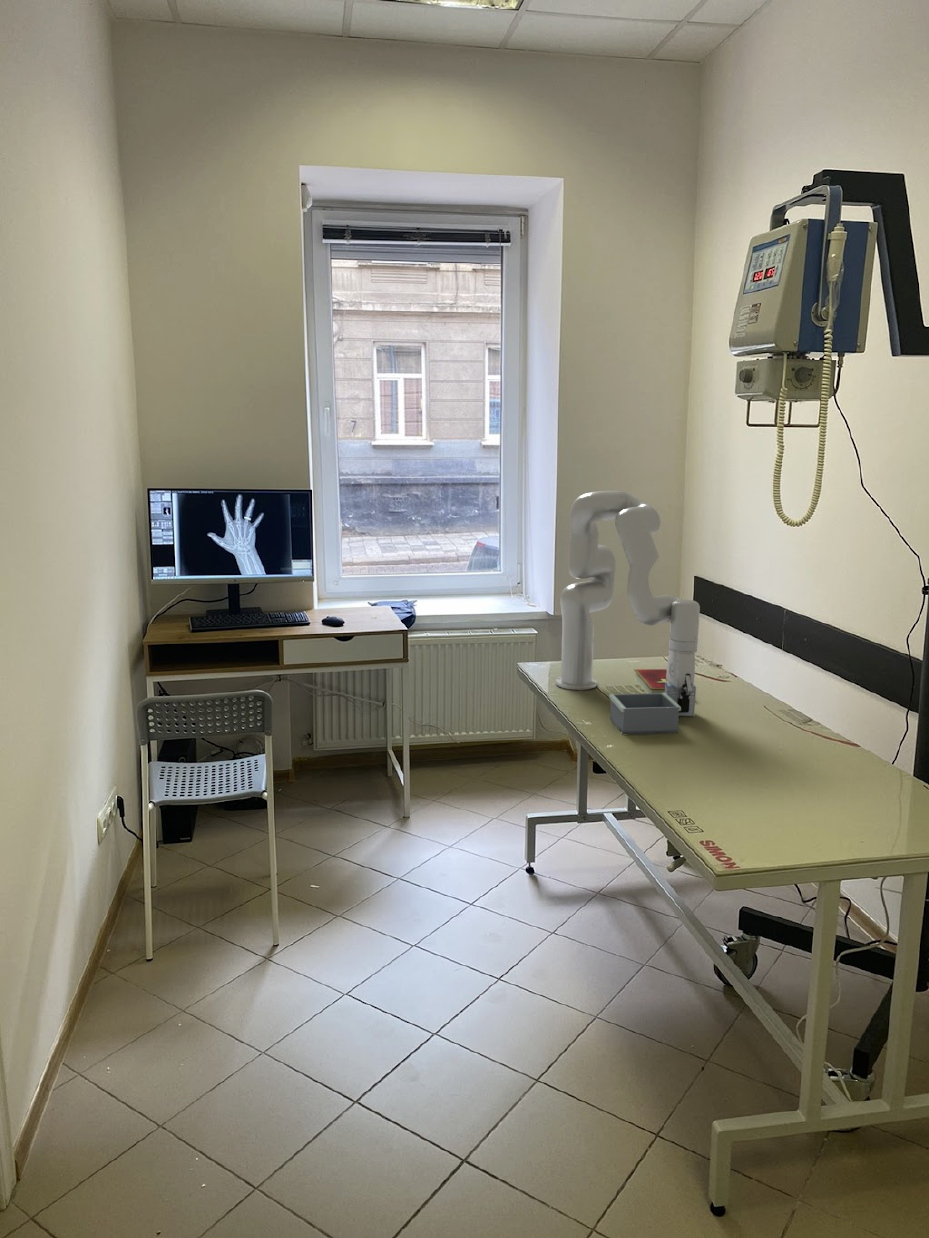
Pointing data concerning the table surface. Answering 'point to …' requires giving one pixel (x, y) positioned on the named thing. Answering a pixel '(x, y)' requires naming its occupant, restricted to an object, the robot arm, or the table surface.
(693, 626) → the robot arm
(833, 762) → the table surface
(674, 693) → the medicine box
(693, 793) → the table surface
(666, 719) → the bin
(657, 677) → the hardcover book
